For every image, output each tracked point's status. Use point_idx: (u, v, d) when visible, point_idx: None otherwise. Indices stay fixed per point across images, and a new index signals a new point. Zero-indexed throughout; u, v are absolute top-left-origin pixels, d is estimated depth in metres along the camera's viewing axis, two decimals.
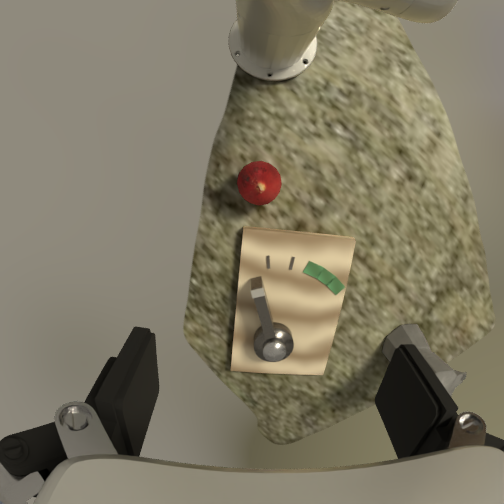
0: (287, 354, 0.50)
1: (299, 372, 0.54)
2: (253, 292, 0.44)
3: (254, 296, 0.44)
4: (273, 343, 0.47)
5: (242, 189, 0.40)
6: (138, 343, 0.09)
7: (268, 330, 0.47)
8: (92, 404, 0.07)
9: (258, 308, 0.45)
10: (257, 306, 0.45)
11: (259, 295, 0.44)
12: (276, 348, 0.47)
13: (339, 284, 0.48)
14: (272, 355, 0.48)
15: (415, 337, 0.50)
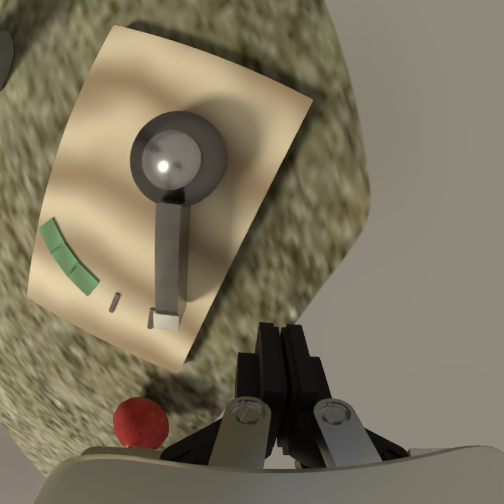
0: (152, 125, 0.19)
1: (158, 42, 0.19)
2: (173, 326, 0.21)
3: (173, 318, 0.21)
4: (165, 188, 0.18)
5: (159, 440, 0.26)
6: (273, 336, 0.11)
7: (167, 227, 0.19)
8: None
9: (174, 288, 0.21)
10: (174, 293, 0.21)
11: (163, 317, 0.21)
12: (161, 171, 0.18)
13: (45, 237, 0.23)
14: (177, 152, 0.18)
15: None
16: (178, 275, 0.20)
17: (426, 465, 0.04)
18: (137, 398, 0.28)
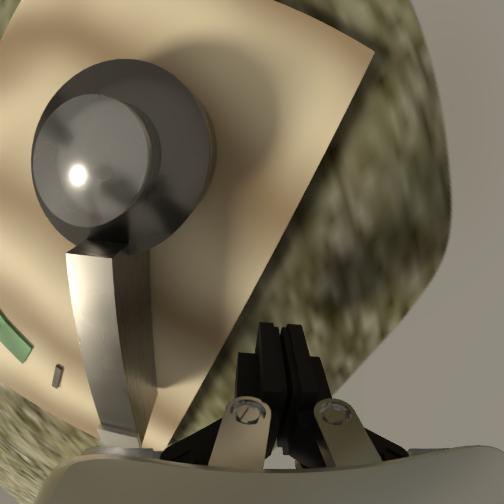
0: (66, 93, 0.08)
1: None
2: (132, 447, 0.11)
3: (130, 439, 0.10)
4: (77, 223, 0.08)
5: None
6: (273, 336, 0.11)
7: (92, 302, 0.09)
8: None
9: (122, 400, 0.10)
10: (125, 406, 0.10)
11: (114, 435, 0.10)
12: (68, 187, 0.07)
13: None
14: (97, 143, 0.07)
15: None
16: (127, 381, 0.10)
17: (426, 465, 0.04)
18: None
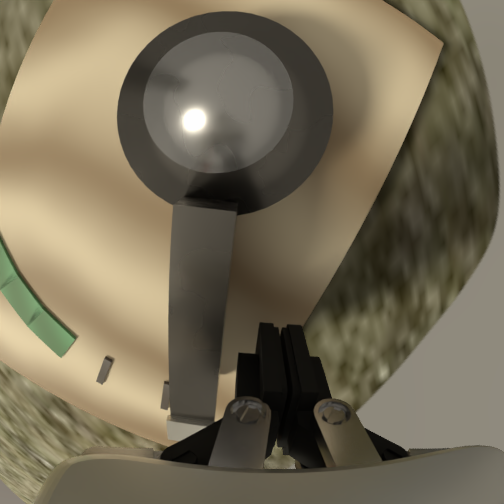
0: (172, 37, 0.08)
1: None
2: None
3: None
4: (199, 168, 0.07)
5: None
6: (273, 336, 0.11)
7: (199, 264, 0.08)
8: None
9: (209, 383, 0.10)
10: (210, 391, 0.10)
11: (187, 427, 0.10)
12: (193, 126, 0.07)
13: None
14: (237, 82, 0.07)
15: None
16: (219, 360, 0.09)
17: (426, 465, 0.04)
18: None
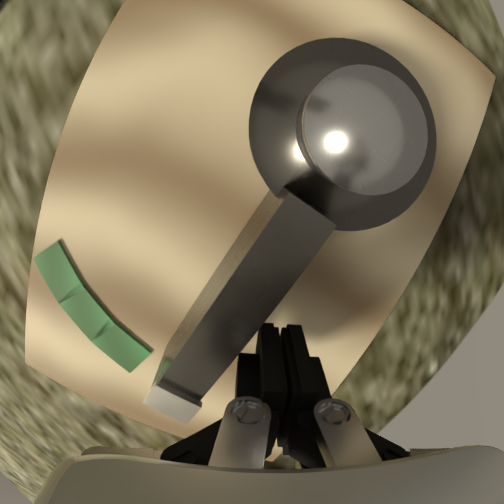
0: (341, 47, 0.08)
1: None
2: (182, 416, 0.10)
3: (190, 407, 0.10)
4: (329, 175, 0.08)
5: None
6: (273, 336, 0.11)
7: (281, 254, 0.09)
8: None
9: (220, 364, 0.10)
10: (216, 371, 0.10)
11: (172, 398, 0.10)
12: (343, 138, 0.08)
13: (47, 274, 0.13)
14: (392, 125, 0.07)
15: None
16: None
17: (426, 465, 0.04)
18: None
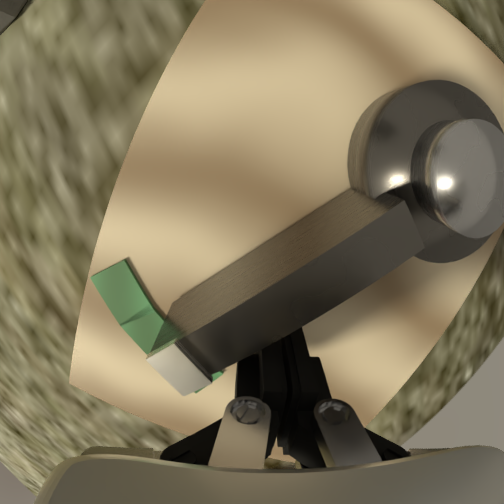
0: (471, 100, 0.08)
1: None
2: (184, 386, 0.09)
3: (199, 379, 0.09)
4: (439, 201, 0.08)
5: None
6: None
7: (372, 253, 0.08)
8: None
9: (257, 342, 0.09)
10: (248, 349, 0.09)
11: (185, 364, 0.09)
12: (462, 177, 0.07)
13: (109, 295, 0.13)
14: (495, 185, 0.07)
15: None
16: None
17: (426, 465, 0.04)
18: None
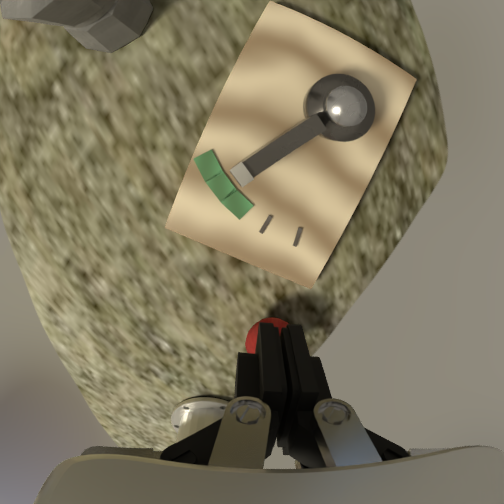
0: (350, 79, 0.24)
1: (310, 21, 0.24)
2: (243, 181, 0.26)
3: (249, 177, 0.26)
4: (329, 113, 0.24)
5: None
6: (273, 336, 0.11)
7: (307, 130, 0.25)
8: None
9: (270, 162, 0.26)
10: (267, 165, 0.26)
11: (244, 170, 0.26)
12: (337, 105, 0.24)
13: (201, 166, 0.30)
14: (354, 107, 0.24)
15: (86, 38, 0.22)
16: (280, 158, 0.26)
17: (426, 465, 0.04)
18: None
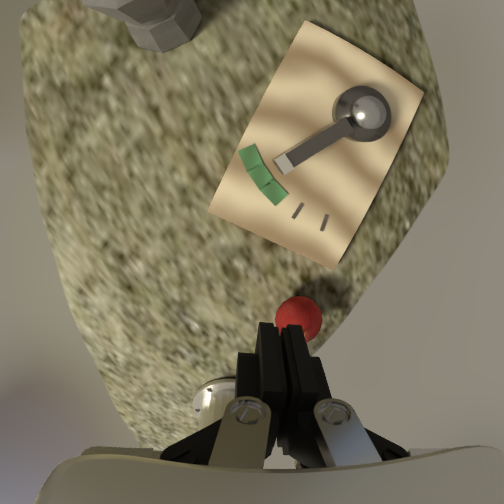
0: (371, 91, 0.29)
1: (338, 40, 0.30)
2: (285, 170, 0.31)
3: (290, 167, 0.31)
4: (356, 117, 0.29)
5: (319, 328, 0.37)
6: (273, 336, 0.11)
7: (338, 130, 0.30)
8: None
9: (308, 155, 0.30)
10: (305, 157, 0.30)
11: (287, 161, 0.30)
12: (363, 111, 0.29)
13: (244, 158, 0.34)
14: (376, 113, 0.29)
15: (144, 37, 0.27)
16: None
17: (426, 465, 0.04)
18: (297, 296, 0.39)
